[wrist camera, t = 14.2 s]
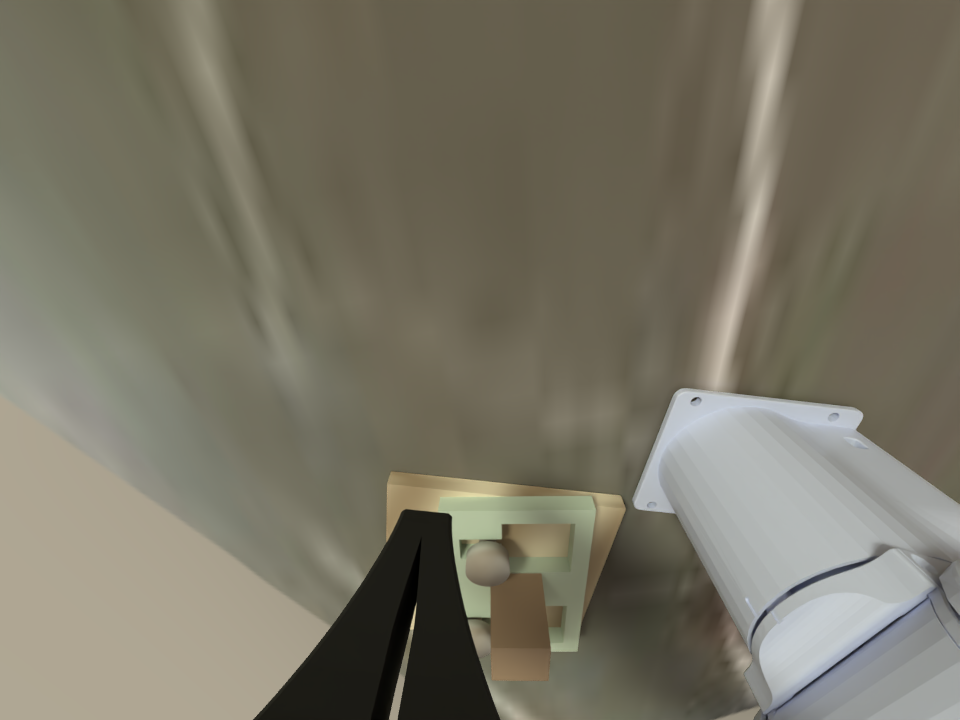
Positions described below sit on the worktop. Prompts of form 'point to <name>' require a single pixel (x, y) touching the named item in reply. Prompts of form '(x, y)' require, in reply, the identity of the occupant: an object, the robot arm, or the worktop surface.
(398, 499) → the stud board
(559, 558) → the keyhole panel
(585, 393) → the worktop surface
